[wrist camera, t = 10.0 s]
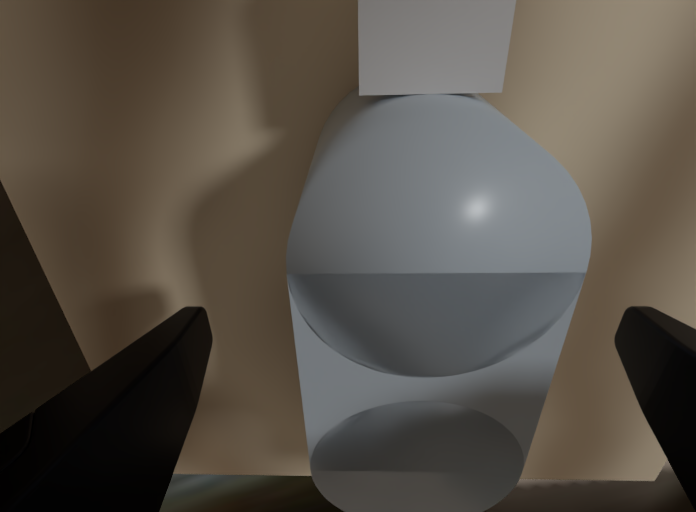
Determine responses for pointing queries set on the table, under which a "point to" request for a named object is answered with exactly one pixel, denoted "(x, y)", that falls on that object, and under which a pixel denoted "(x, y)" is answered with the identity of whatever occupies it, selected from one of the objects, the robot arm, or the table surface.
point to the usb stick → (430, 269)
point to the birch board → (289, 179)
